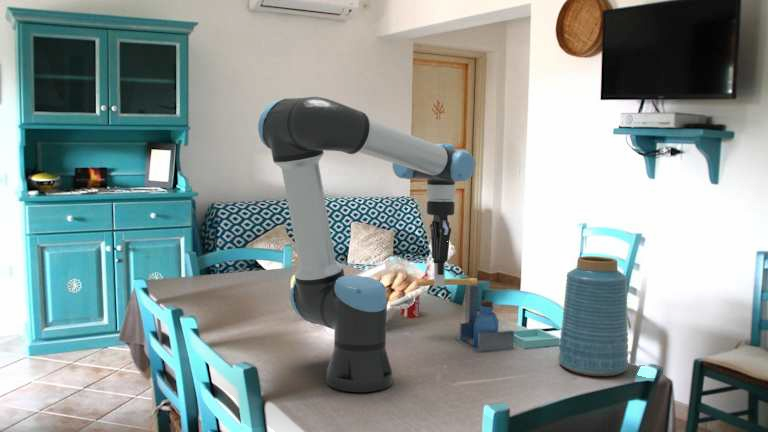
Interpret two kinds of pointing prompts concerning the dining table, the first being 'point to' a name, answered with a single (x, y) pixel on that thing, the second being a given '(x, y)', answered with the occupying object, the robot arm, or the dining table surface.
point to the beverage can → (411, 310)
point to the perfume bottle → (485, 320)
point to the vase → (595, 319)
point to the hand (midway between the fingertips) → (439, 285)
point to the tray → (534, 338)
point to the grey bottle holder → (485, 339)
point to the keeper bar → (448, 282)
